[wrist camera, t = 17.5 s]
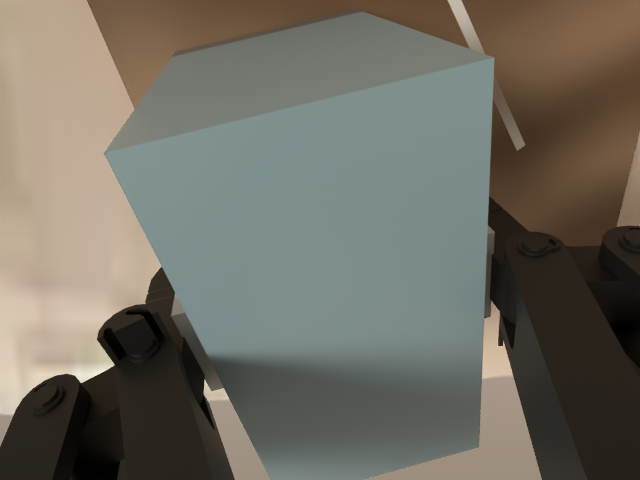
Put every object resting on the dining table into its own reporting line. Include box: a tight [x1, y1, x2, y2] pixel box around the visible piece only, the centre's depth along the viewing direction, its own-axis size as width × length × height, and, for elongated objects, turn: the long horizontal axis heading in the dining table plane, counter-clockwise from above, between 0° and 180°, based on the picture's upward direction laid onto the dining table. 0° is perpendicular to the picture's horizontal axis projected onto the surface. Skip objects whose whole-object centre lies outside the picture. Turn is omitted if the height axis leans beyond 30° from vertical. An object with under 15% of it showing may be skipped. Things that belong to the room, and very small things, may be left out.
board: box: [87, 0, 640, 246], centre depth 18 cm, size 17×20×2 cm
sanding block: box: [104, 9, 494, 480], centre depth 13 cm, size 11×6×9 cm, turn 11°
